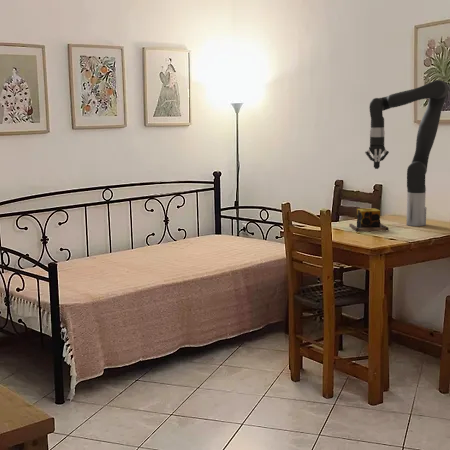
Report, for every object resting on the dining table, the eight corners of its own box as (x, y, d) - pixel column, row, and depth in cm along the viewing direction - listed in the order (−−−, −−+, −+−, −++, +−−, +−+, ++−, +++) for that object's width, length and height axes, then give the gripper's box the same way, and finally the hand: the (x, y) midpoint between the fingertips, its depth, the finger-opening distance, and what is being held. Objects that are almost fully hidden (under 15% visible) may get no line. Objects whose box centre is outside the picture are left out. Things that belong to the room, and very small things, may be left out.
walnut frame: (380, 225, 366) (380, 222, 366) (388, 230, 351) (388, 227, 351) (349, 226, 365) (349, 223, 365) (356, 231, 350) (356, 228, 350)
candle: (380, 230, 353) (381, 210, 351) (361, 230, 353) (361, 211, 351) (375, 227, 363) (375, 208, 362) (356, 227, 363) (356, 208, 361)
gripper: (366, 136, 367) (366, 169, 369) (391, 136, 367) (390, 169, 370) (363, 136, 374) (362, 168, 377) (387, 135, 375) (386, 168, 378)
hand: (376, 168), depth 374 cm, fingers closed
